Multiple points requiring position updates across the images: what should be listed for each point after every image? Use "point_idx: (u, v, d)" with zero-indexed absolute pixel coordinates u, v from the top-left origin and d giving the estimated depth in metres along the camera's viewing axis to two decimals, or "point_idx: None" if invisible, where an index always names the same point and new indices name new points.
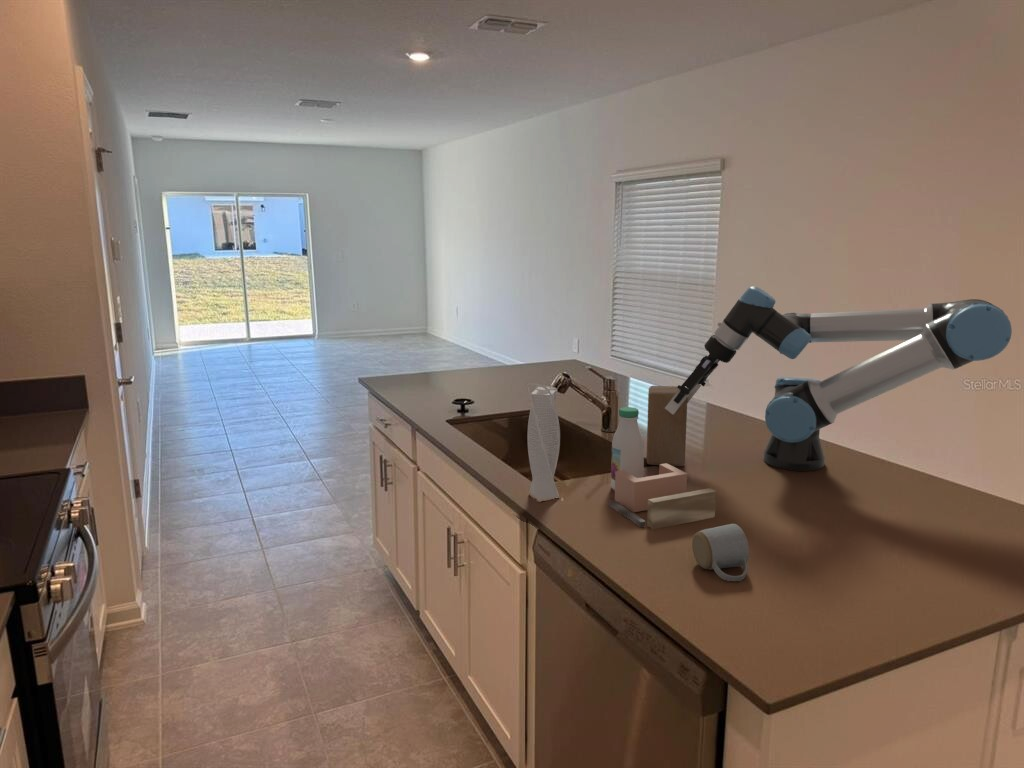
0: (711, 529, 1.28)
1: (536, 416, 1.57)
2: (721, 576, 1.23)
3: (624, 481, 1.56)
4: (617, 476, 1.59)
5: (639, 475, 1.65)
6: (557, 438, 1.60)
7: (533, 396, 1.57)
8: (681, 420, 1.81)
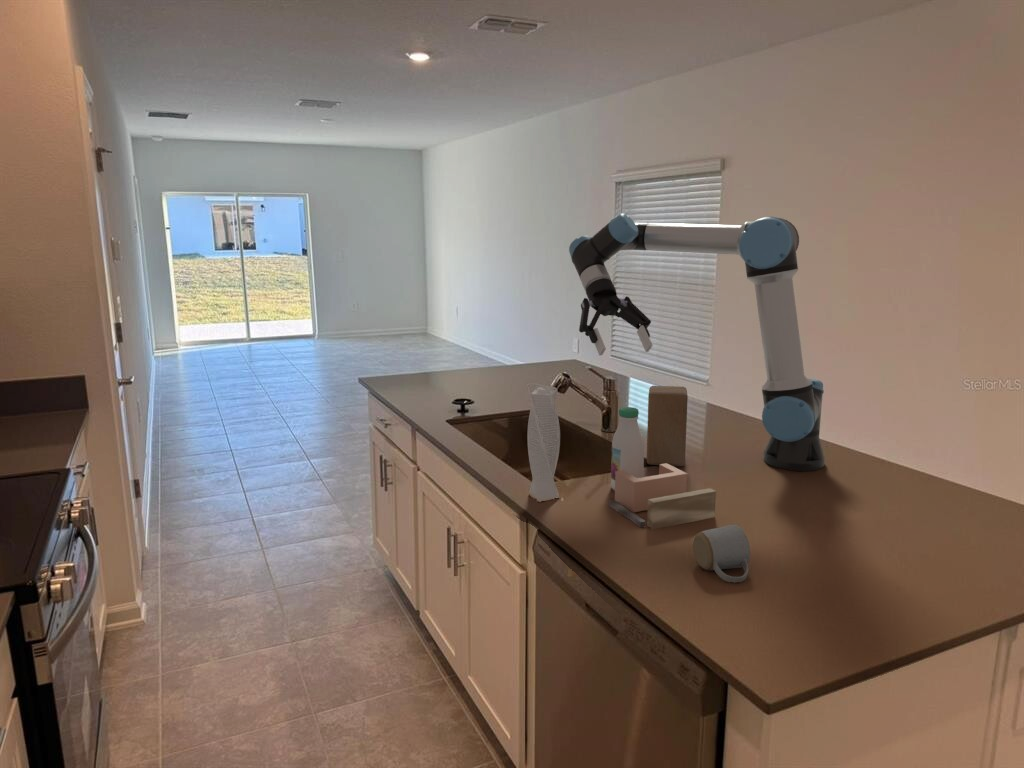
0: (712, 530, 1.27)
1: (536, 416, 1.57)
2: (722, 577, 1.23)
3: (624, 481, 1.56)
4: (617, 476, 1.59)
5: (639, 475, 1.65)
6: (557, 438, 1.60)
7: (533, 396, 1.57)
8: (681, 420, 1.81)
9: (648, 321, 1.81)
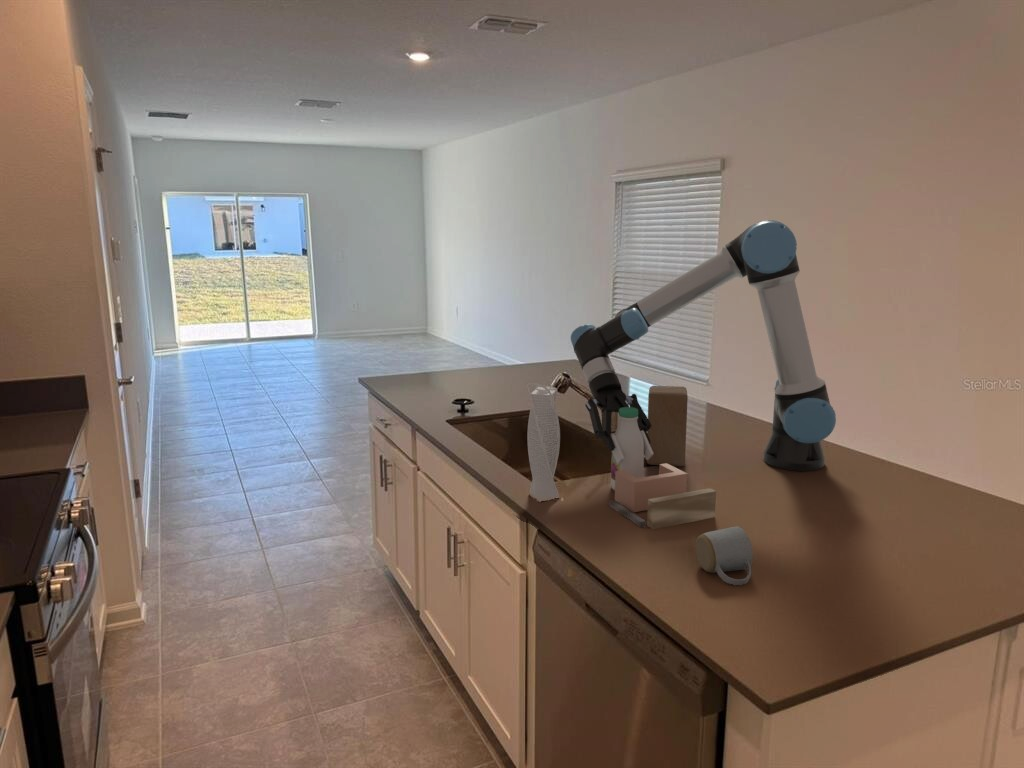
0: (714, 532, 1.26)
1: (536, 416, 1.57)
2: (725, 580, 1.22)
3: (624, 481, 1.56)
4: (617, 476, 1.59)
5: (639, 475, 1.65)
6: (557, 438, 1.60)
7: (533, 396, 1.57)
8: (681, 420, 1.81)
9: (648, 425, 1.69)
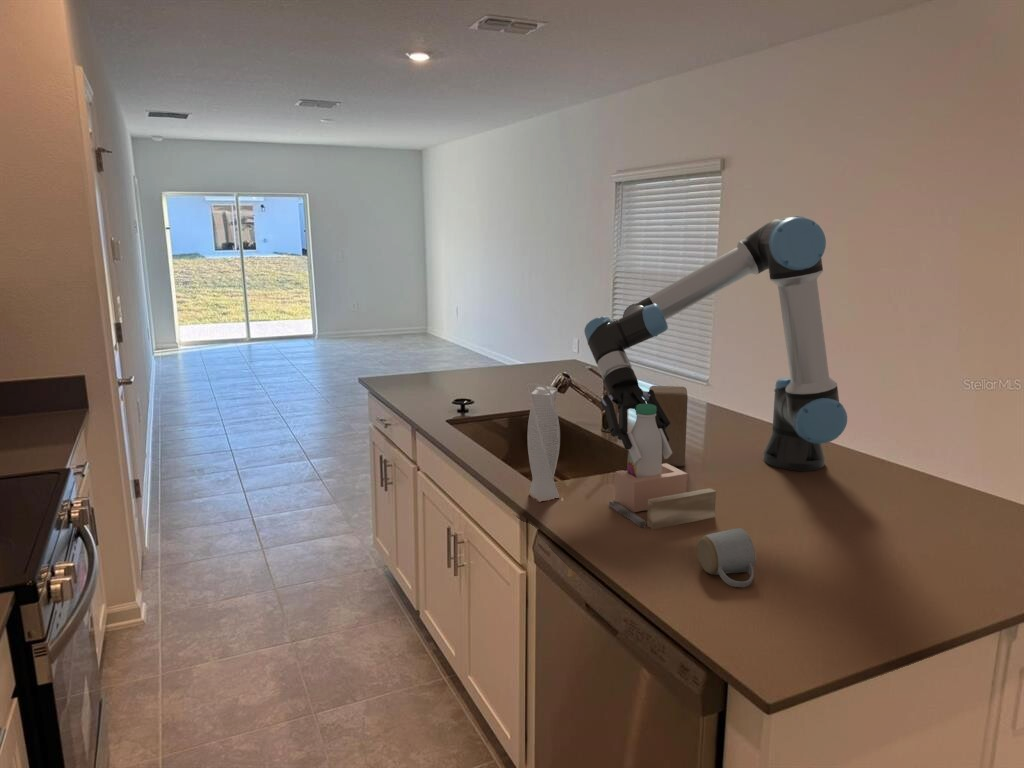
0: (717, 534, 1.26)
1: (536, 416, 1.57)
2: (727, 582, 1.21)
3: (624, 481, 1.56)
4: (617, 476, 1.59)
5: None
6: (557, 438, 1.60)
7: (533, 396, 1.57)
8: (681, 420, 1.81)
9: (666, 422, 1.61)
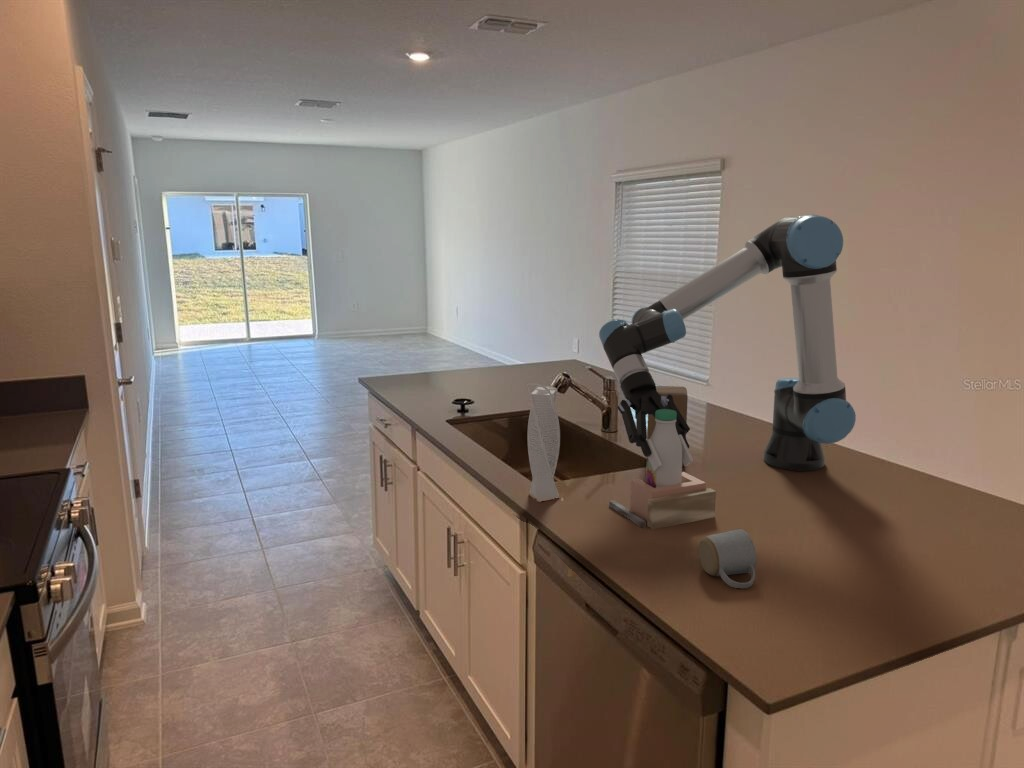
0: (718, 535, 1.25)
1: (536, 416, 1.57)
2: (728, 583, 1.21)
3: (640, 490, 1.50)
4: (632, 486, 1.53)
5: (677, 483, 1.51)
6: (557, 438, 1.60)
7: (533, 396, 1.57)
8: None
9: (686, 428, 1.55)
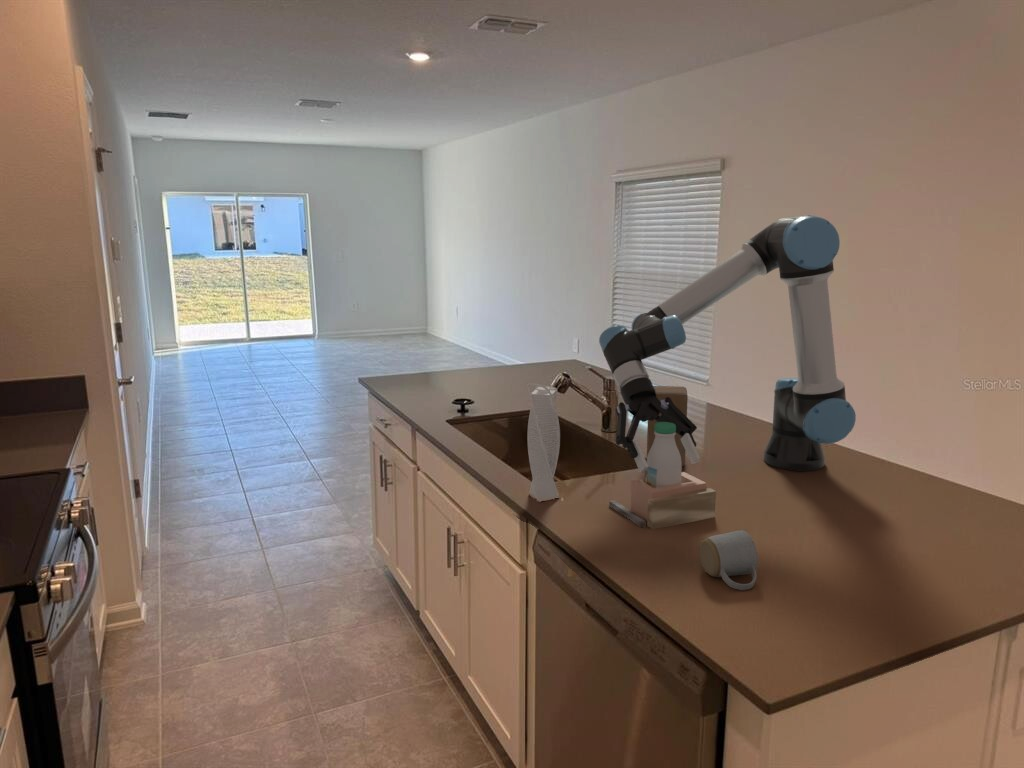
0: (719, 536, 1.25)
1: (536, 416, 1.57)
2: (730, 584, 1.20)
3: (641, 491, 1.50)
4: (633, 486, 1.52)
5: None
6: (557, 438, 1.60)
7: (533, 396, 1.57)
8: None
9: (693, 427, 1.57)
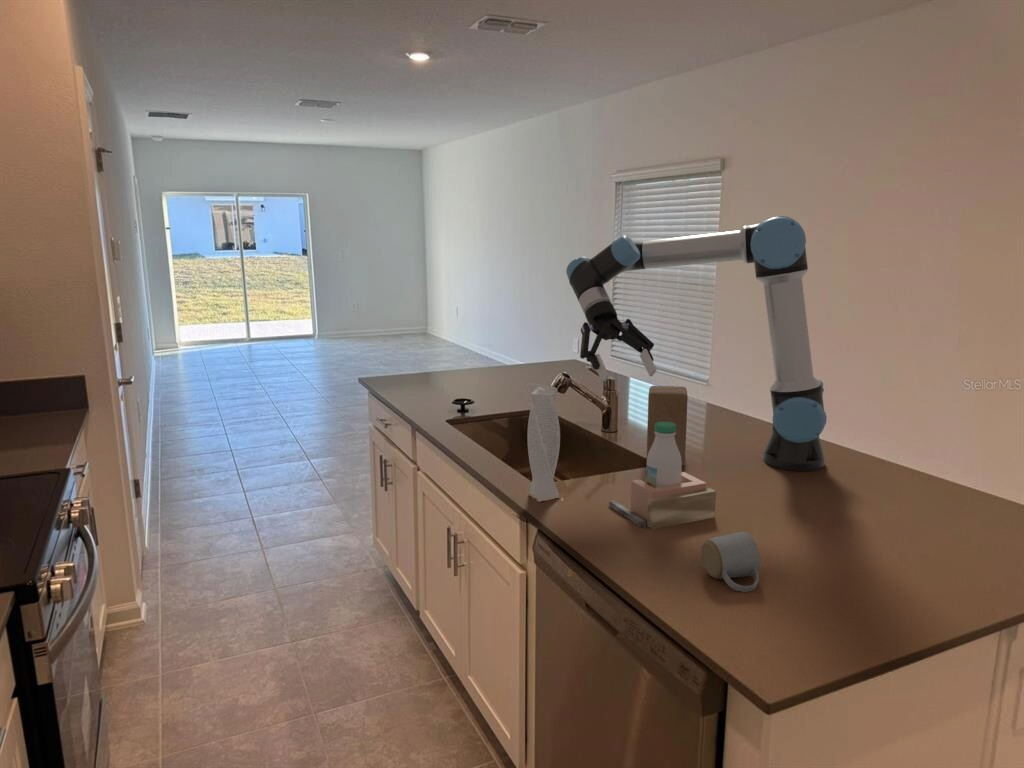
0: (721, 537, 1.24)
1: (536, 416, 1.57)
2: (732, 586, 1.20)
3: (641, 491, 1.50)
4: (633, 486, 1.52)
5: None
6: (557, 438, 1.60)
7: (533, 396, 1.57)
8: (681, 420, 1.81)
9: (651, 344, 1.74)
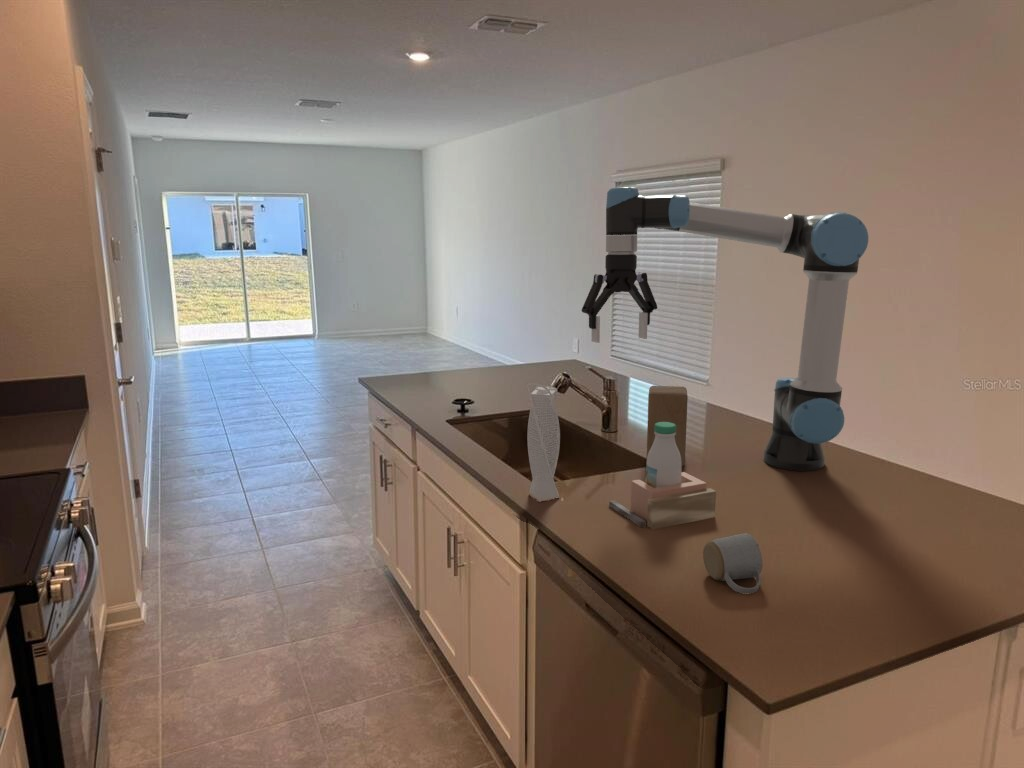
0: (723, 539, 1.23)
1: (536, 416, 1.57)
2: (734, 588, 1.19)
3: (641, 491, 1.50)
4: (633, 486, 1.52)
5: None
6: (557, 438, 1.60)
7: (533, 396, 1.57)
8: (681, 420, 1.81)
9: (654, 307, 1.74)
